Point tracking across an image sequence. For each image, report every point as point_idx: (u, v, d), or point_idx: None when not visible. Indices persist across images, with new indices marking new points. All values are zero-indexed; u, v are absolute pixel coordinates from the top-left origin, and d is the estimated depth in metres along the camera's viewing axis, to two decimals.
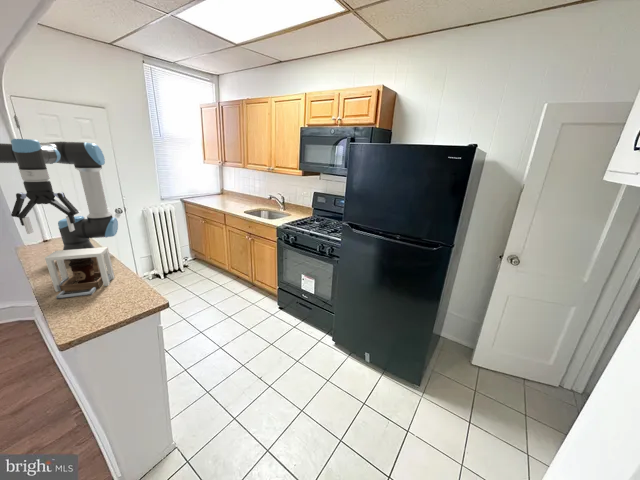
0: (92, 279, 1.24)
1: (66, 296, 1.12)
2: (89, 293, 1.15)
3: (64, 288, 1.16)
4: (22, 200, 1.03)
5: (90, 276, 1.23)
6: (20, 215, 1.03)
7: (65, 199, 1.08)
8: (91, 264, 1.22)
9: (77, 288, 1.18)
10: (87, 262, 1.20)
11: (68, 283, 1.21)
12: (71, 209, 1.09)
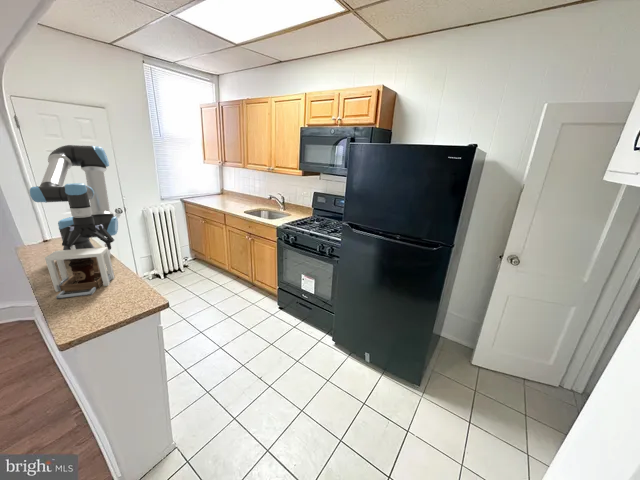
0: (92, 279, 1.24)
1: (66, 296, 1.12)
2: (89, 293, 1.15)
3: (64, 288, 1.16)
4: (70, 232, 1.26)
5: (90, 276, 1.23)
6: (68, 244, 1.26)
7: (104, 230, 1.31)
8: (91, 264, 1.22)
9: (77, 288, 1.18)
10: (87, 262, 1.20)
11: (68, 283, 1.21)
12: (109, 238, 1.32)
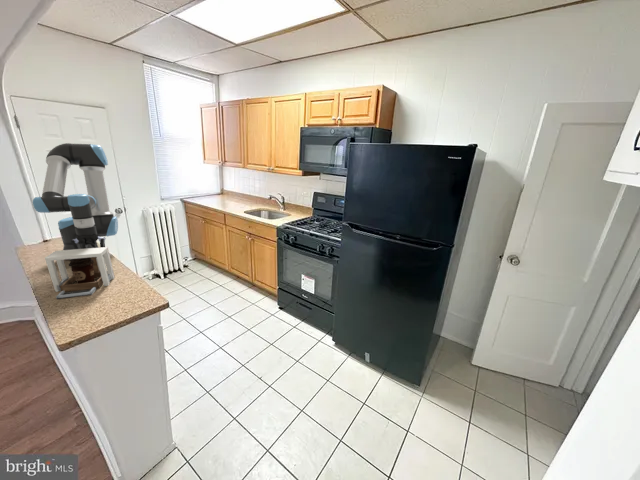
0: (92, 279, 1.24)
1: (66, 296, 1.12)
2: (89, 293, 1.15)
3: (64, 288, 1.16)
4: (78, 244, 1.29)
5: (90, 276, 1.23)
6: None
7: (103, 243, 1.32)
8: (91, 264, 1.22)
9: (77, 288, 1.18)
10: (87, 262, 1.20)
11: (68, 283, 1.21)
12: None
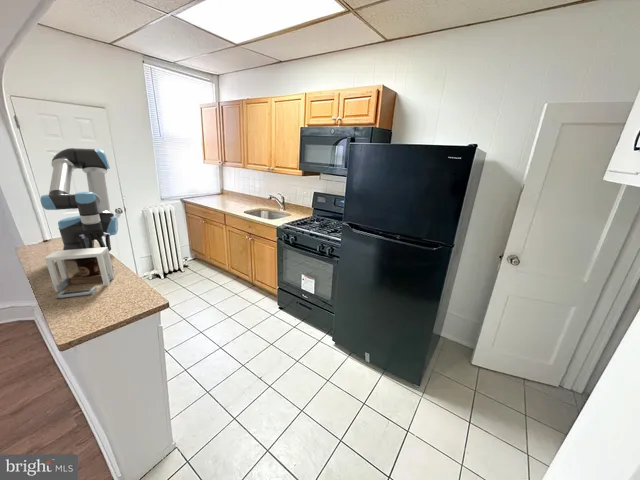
0: None
1: (66, 296, 1.12)
2: (89, 293, 1.15)
3: (72, 281, 1.23)
4: (84, 239, 1.35)
5: (94, 272, 1.27)
6: None
7: (108, 239, 1.39)
8: (95, 260, 1.26)
9: (84, 281, 1.25)
10: (91, 258, 1.24)
11: (75, 276, 1.27)
12: (108, 247, 1.39)
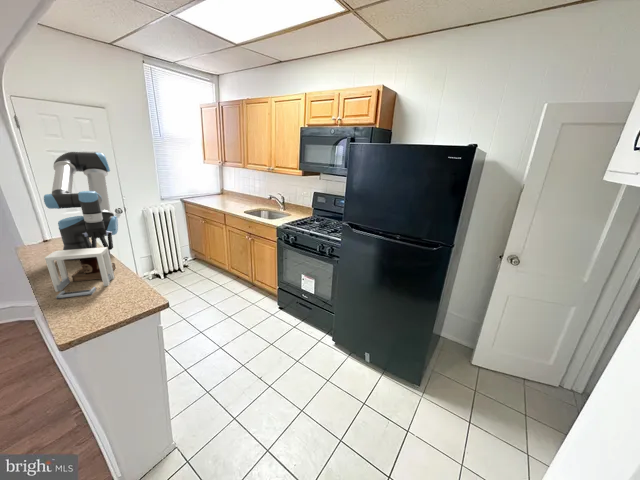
0: (99, 272, 1.31)
1: (66, 296, 1.12)
2: (89, 293, 1.15)
3: (75, 278, 1.26)
4: (87, 237, 1.38)
5: (97, 269, 1.30)
6: None
7: (111, 237, 1.42)
8: None
9: (87, 278, 1.28)
10: None
11: (78, 273, 1.30)
12: (110, 245, 1.42)
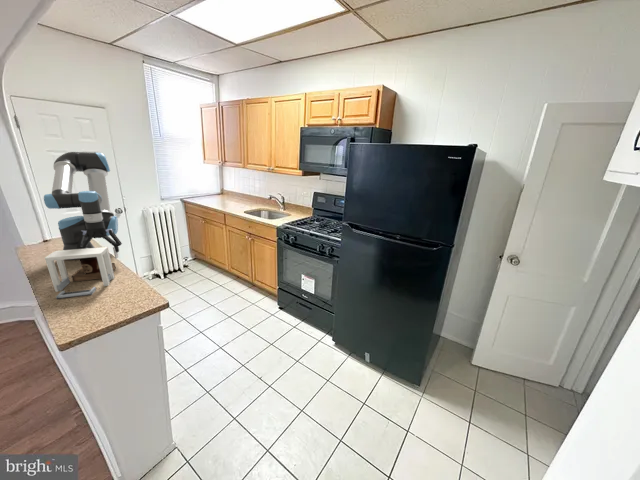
0: (99, 272, 1.31)
1: (66, 296, 1.12)
2: (89, 293, 1.15)
3: (75, 278, 1.26)
4: (83, 236, 1.38)
5: (97, 269, 1.30)
6: (83, 247, 1.38)
7: (113, 234, 1.42)
8: None
9: (87, 278, 1.28)
10: None
11: (79, 273, 1.30)
12: (117, 242, 1.43)
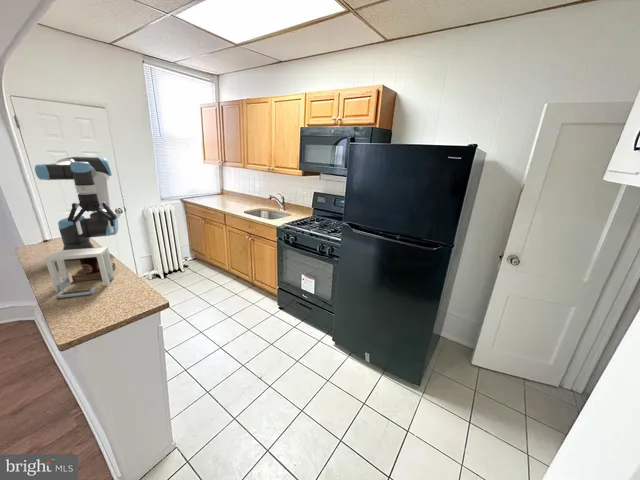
0: (99, 272, 1.31)
1: (66, 296, 1.12)
2: (89, 293, 1.15)
3: (75, 278, 1.26)
4: (75, 208, 1.33)
5: (97, 269, 1.30)
6: (74, 220, 1.33)
7: (107, 207, 1.38)
8: None
9: (87, 278, 1.28)
10: None
11: (79, 273, 1.30)
12: (112, 215, 1.39)
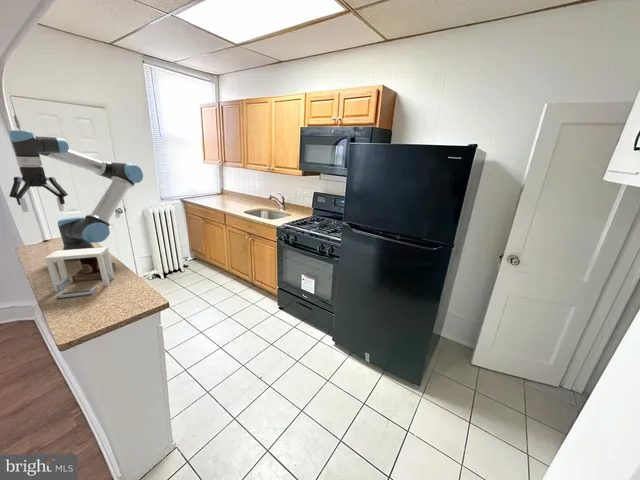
0: (99, 272, 1.31)
1: (66, 296, 1.12)
2: (89, 293, 1.15)
3: (75, 278, 1.26)
4: (19, 183, 1.21)
5: (97, 269, 1.30)
6: (17, 196, 1.21)
7: (56, 183, 1.26)
8: None
9: (87, 278, 1.28)
10: None
11: (79, 273, 1.30)
12: (61, 191, 1.27)
